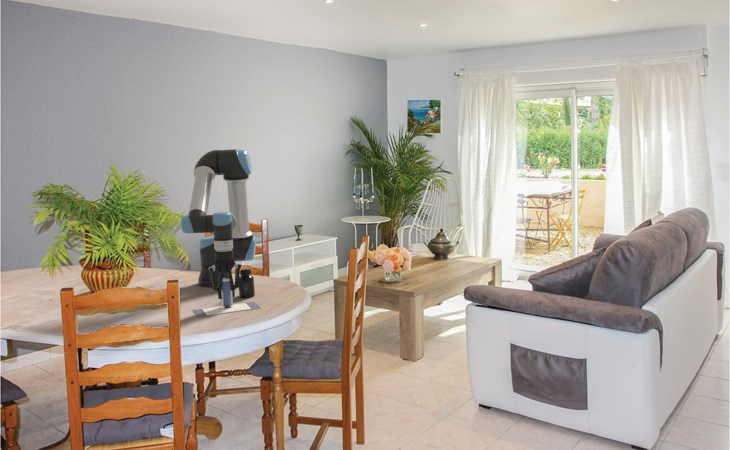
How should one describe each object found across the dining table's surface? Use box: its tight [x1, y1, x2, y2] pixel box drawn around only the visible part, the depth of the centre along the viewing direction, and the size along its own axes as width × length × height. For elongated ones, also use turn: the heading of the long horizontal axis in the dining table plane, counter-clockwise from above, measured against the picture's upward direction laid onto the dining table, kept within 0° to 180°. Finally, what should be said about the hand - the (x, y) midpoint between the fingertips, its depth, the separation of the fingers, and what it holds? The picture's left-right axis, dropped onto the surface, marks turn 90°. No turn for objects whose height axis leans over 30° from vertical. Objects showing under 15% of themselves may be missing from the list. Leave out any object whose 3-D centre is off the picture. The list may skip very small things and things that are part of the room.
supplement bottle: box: [238, 268, 256, 299], centre depth 279 cm, size 7×7×12 cm
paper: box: [201, 302, 251, 316], centre depth 259 cm, size 10×18×1 cm, turn 115°
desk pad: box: [191, 301, 262, 319], centre depth 259 cm, size 12×26×1 cm, turn 115°
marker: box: [222, 278, 231, 308], centre depth 260 cm, size 3×3×12 cm
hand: (227, 305), depth 261 cm, fingers closed on marker, 3 cm apart
